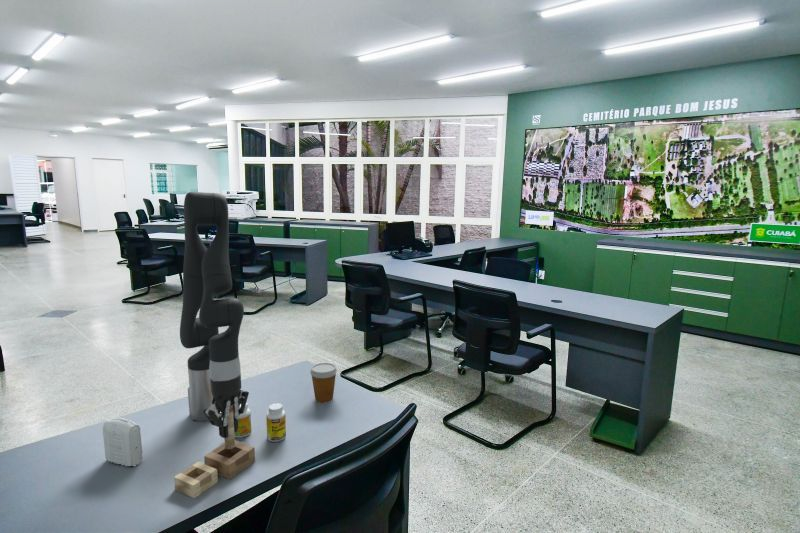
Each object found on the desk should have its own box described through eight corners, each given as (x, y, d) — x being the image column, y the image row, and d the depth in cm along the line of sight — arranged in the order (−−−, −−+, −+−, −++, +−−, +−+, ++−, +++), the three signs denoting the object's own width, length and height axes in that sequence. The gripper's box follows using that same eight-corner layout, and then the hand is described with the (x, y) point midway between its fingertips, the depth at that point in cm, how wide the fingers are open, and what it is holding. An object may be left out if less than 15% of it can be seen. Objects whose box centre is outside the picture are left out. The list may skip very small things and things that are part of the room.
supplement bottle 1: (231, 438, 131) (229, 408, 129) (235, 429, 136) (233, 400, 135) (249, 437, 132) (248, 407, 130) (252, 428, 137) (251, 399, 136)
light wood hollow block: (175, 489, 109) (174, 476, 108) (198, 473, 115) (197, 461, 114) (194, 498, 106) (193, 485, 105) (217, 481, 112) (217, 469, 111)
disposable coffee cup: (335, 405, 152) (334, 373, 150) (308, 405, 152) (307, 372, 150) (339, 393, 161) (339, 362, 159) (313, 392, 162) (313, 361, 160)
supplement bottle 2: (270, 444, 128) (269, 412, 126) (264, 436, 133) (263, 404, 131) (288, 439, 131) (287, 407, 130) (282, 430, 136) (281, 400, 134)
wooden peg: (222, 447, 117) (219, 406, 115) (230, 442, 120) (227, 401, 117) (229, 450, 116) (227, 408, 114) (237, 445, 118) (235, 403, 116)
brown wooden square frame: (205, 469, 117) (204, 455, 116) (231, 451, 125) (230, 438, 124) (229, 479, 113) (228, 465, 112) (255, 460, 121) (254, 447, 120)
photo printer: (145, 460, 120) (141, 418, 118) (132, 469, 116) (127, 426, 114) (117, 453, 123) (113, 412, 121) (103, 461, 119) (98, 420, 117)
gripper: (235, 362, 122) (238, 419, 125) (192, 380, 110) (197, 443, 113) (255, 366, 119) (258, 425, 122) (213, 387, 106) (218, 451, 109)
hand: (229, 434), depth 117 cm, fingers closed on wooden peg, 2 cm apart
